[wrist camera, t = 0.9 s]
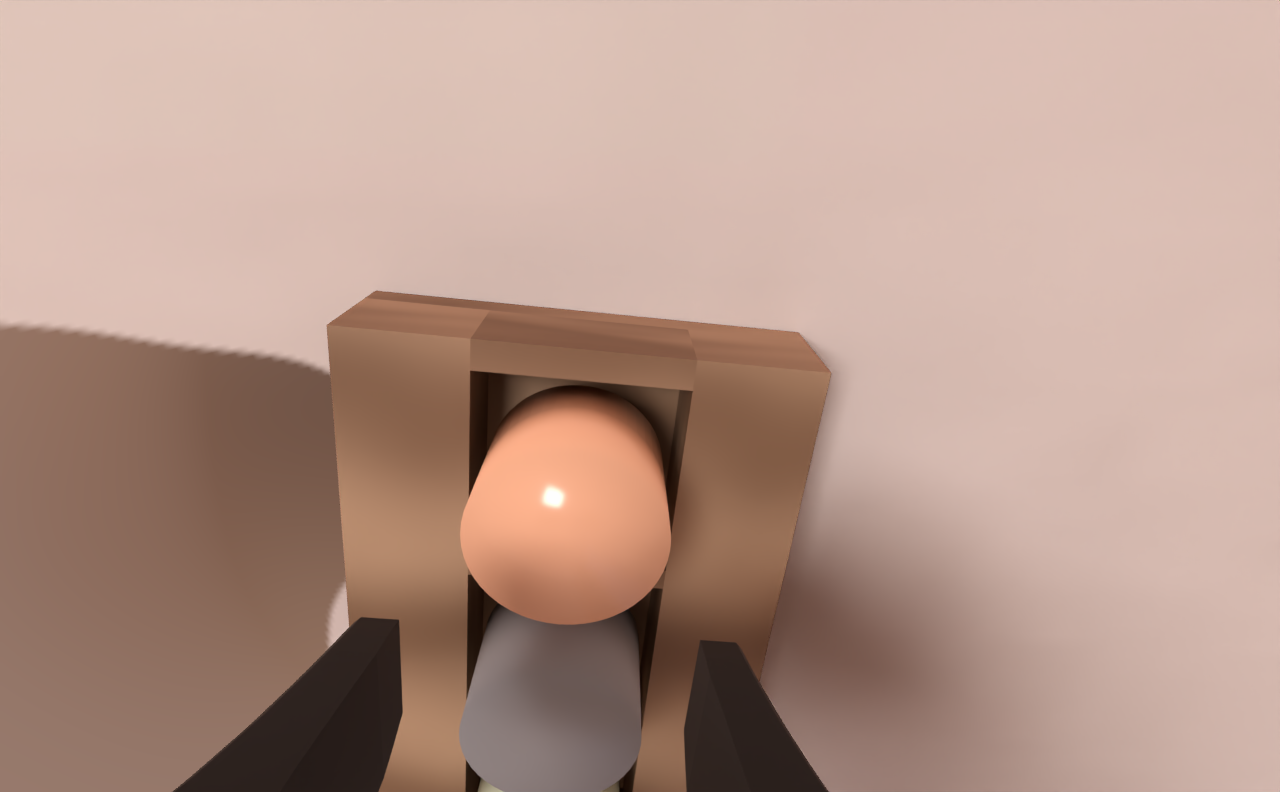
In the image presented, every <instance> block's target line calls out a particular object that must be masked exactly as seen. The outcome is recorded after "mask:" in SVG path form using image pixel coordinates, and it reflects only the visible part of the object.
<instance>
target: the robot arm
mask: <svg viewBox="0 0 1280 792" xmlns="http://www.w3.org/2000/svg"><path fill="white" fill-rule="evenodd" d="M402 714H403V705H402V679H401V653H400V627H399V620H398V619H383V618H368V617H361V618H359V619H358V620H357V621H355V622H354V623H353V624H352V625H351V626H350V627H349V628H348V629H347V630H346V631H345V632H344V633H343V634H342V635H341V636H340V637H339V638H338V639H337V641H336V642H335V643H334V644H333V645H332V646H331V647H330V648H329V649H328V650H327V651H326V652H325V653H324V654H323V655H322V656H321V657H320V658H319V659H318V660H317V661H316V662H315V663H314V664H313V665H312V666H311V667H310V668H309V669H308V670H307V671H306V672H305V673H304V674H303V675H302V676H301V677H300V678H299V679H298V680H297V681H296V682H295V683H294V684H293V685H292V686H291V687H290V688H289V689H287V691H285V692H284V693H283V694H282V695H281V696H280V697H279V698H278V699H277V700H276V701H275V702H274V703H273V704H272V705H271V706H270V707H269V708H267V709H266V710H265V711H264V712H263V713H262V714H261V715H260V716H259V717H258V718H257V719H256V720H255V721H254V722H253V723H252V724H251V725H249V726H248V727H247V728H246V729H245V730H244V731H243V732H242V733H240V734H239V735H238V736H237V737H236V738H235V739H234V740H232V741H231V742H230V743H229V744H228V745H227V746H226V747H224V748H223V749H222V750H221V751H220V752H219V753H218V754H217V755H215V756H214V757H213V758H212V759H211V760H210V761H208V762H207V763H206V764H205V765H204V766H203V767H202V768H200V769H199V770H198V771H197V772H196V773H195V774H193V775H192V776H191V777H190V778H189V779H187V780H186V781H185V782H184V783H183V784H181V785H180V786H179V787H178V788H177V789H175V790H174V791H173V792H379V789H380V787H381V784H382V781H383V779H384V776H385V773H386V769H387V766H388V763H389V759H390V756H391V753H392V749H393V746H394V742H395V739H396V735H397V732H398V728H399V724H400V721H401V717H402ZM684 748H685V771H686V790H687V792H828V790H827V789H826V787H825V786H824V785H823V783H822V782H821V780H820V779H819V777H818V776H817V774H816V773H815V771H814V770H813V768H812V767H811V765H810V764H809V762H808V761H807V759H806V758H805V756H804V755H803V753H802V752H801V750H800V748H799V747H798V745H797V744H796V742H795V741H794V739H793V738H792V736H791V734H790V733H789V731H788V730H787V728H786V727H785V725H784V723H783V722H782V720H781V718H780V717H779V715H778V713H777V712H776V710H775V708H774V707H773V705H772V703H771V702H770V700H769V698H768V696H767V695H766V693H765V691H764V689H763V688H762V686H761V684H760V682H759V681H758V679H757V677H756V675H755V673H754V672H753V670H752V668H751V666H750V664H749V662H748V660H747V659H746V657H745V655H744V653H743V651H742V649H741V648H740V646H739V645H738V644H737V643H736V642H722V641H707V640H700V643H699V649H698V654H697V660H696V665H695V671H694V676H693V682H692V687H691V692H690V698H689V703H688V709H687V714H686V720H685V725H684Z"/></svg>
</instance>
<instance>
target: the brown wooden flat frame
mask: <svg viewBox="0 0 1280 792" xmlns="http://www.w3.org/2000/svg"><path fill="white" fill-rule="evenodd" d="M327 336H328V349H329V362H330V376H331V389H332V401H333V416H334V428H335V442H336V456H337V469H338V481H339V494H340V509H341V522H342V536H343V549H344V562H345V576H346V589H347V602H348V615H349V627H350V626H351V625H352V624H353V623H354V622H355V621H357V620H358V619H359V618H361V617H368V618H383V619H398V620H399V627H400V653H401V679H402V705H403V714H402V717H401V721H400V724H399V728H398V732H397V735H396V739H395V742H394V746H393V749H392V753H391V756H390V759H389V763H388V766H387V769H386V773H385V776H384V779H383V781H382V784H381V787H380V789H379V792H478V788H479V784H480V779H481V777H480V776H479V775H478V774H477V773H476V772H475V771H474V770H473V769H472V768H471V767H470V765H469V763H468V762H467V760H466V759H465V757H464V755H463V752H462V749H461V746H460V741H459V728H460V723H461V719H462V715H463V712H464V708H465V704H466V700H467V697H468V693H469V689H470V685H471V682H472V678H473V674H474V671H475V667H476V663H477V659H478V656H479V652H480V648H481V644H482V641H483V637H484V633H485V630H486V626H487V622H488V619H489V617H490V615H491V612H492V611H493V609H494V608H495V606H496V605H497V604H498V602H497V601H495V600H494V599H493V598H491V597H490V596H489V595H488V594H487V593H486V592H485V591H484V590H483V589H482V588H481V587H480V585H479V584H478V583H477V581H476V580H475V579H474V577H473V576H472V574H471V572H470V570H469V569H468V567H467V564H466V562H465V559H464V557H463V552H462V548H461V540H460V528H461V520H462V516H463V512H464V509H465V507H466V504H467V502H468V499H469V497H470V494H471V492H472V489H473V487H474V484H475V482H476V479H477V477H478V474H479V472H480V469H481V467H482V464H483V462H484V460H485V457H486V455H487V452H488V450H489V447H490V445H491V442H492V440H493V437H494V435H495V433H496V430H497V428H498V426H499V425H500V423H501V421H502V420H503V418H504V417H505V416H506V415H507V414H508V412H509V411H510V410H511V409H512V408H514V407H515V406H516V405H517V404H518V403H520V402H521V401H522V400H524V399H525V398H527V397H529V396H531V395H533V394H535V393H537V392H539V391H542V390H545V389H548V388H553V387H557V386H565V385H584V386H591V387H596V388H600V389H603V390H607V391H609V392H611V393H614V394H616V395H618V396H620V397H622V398H623V399H625V400H627V401H628V402H629V403H631V404H632V405H633V406H635V407H636V408H637V409H638V410H639V411H640V412H641V413H642V414H643V415H644V416H645V417H646V419H647V420H648V421H649V423H650V424H651V426H652V428H653V429H654V431H655V433H656V435H657V438H658V440H659V443H660V448H661V452H662V460H663V469H664V478H665V486H666V495H667V503H668V512H669V521H670V530H671V547H670V553H669V558H668V562H667V564H666V567H665V569H664V572H663V573H662V575H661V577H660V578H659V580H658V582H657V583H656V584H655V586H654V587H653V588H652V589H651V591H650V592H649V593H648V594H647V595H646V596H645V597H644V598H643V599H641V600H640V601H639V602H637V603H636V604H635V605H633V606H632V607H630V608H629V610H630V612H631V613H632V615H633V617H634V619H635V622H636V625H637V629H638V638H639V671H640V705H641V746H640V750H639V754H638V756H637V758H636V761H635V762H634V764H633V765H632V767H631V768H630V770H629V771H628V772H627V773H626V774H625V775H624V776H623V777H622V778H621V779H620V780H619V792H687V790H686V771H685V748H684V725H685V720H686V714H687V709H688V703H689V698H690V692H691V687H692V682H693V676H694V671H695V665H696V660H697V654H698V649H699V643H700V640H707V641H722V642H736V643H737V644H738V645H739V646H740V648H741V649H742V651H743V653H744V655H745V657H746V659H747V660H748V662H749V664H750V666H751V668H752V670H753V672H754V673H755V675H756V677H757V679H758V681H760V676H761V672H762V668H763V663H764V659H765V655H766V651H767V646H768V642H769V638H770V634H771V629H772V625H773V621H774V616H775V612H776V608H777V604H778V599H779V595H780V591H781V586H782V582H783V578H784V574H785V569H786V565H787V561H788V557H789V552H790V548H791V544H792V539H793V535H794V531H795V527H796V522H797V518H798V514H799V509H800V505H801V501H802V497H803V492H804V488H805V484H806V480H807V475H808V471H809V467H810V462H811V458H812V454H813V450H814V445H815V441H816V437H817V433H818V428H819V424H820V420H821V415H822V411H823V407H824V403H825V398H826V394H827V390H828V385H829V381H830V377H831V372H830V371H829V369H828V368H827V367H826V366H825V365H824V363H823V362H822V361H821V360H820V358H819V357H818V356H817V355H816V353H815V352H814V351H813V350H812V349H811V347H810V346H809V345H808V344H807V342H806V341H805V340H804V339H803V338H802V336H801V335H800V334H799V333H798V332H788V331H778V330H767V329H757V328H747V327H737V326H727V325H717V324H707V323H696V322H686V321H676V320H666V319H656V318H646V317H635V316H625V315H615V314H605V313H595V312H585V311H575V310H564V309H554V308H544V307H534V306H524V305H514V304H504V303H493V302H483V301H473V300H463V299H453V298H443V297H432V296H422V295H412V294H402V293H392V292H382V291H375V292H373V293H372V294H370V295H369V296H367V297H366V298H365V299H363V300H362V301H360V302H359V303H357V304H356V305H355V306H353V307H352V308H350V309H349V310H348V311H346V312H345V313H343V314H342V315H340V316H339V317H338V318H336V319H335V320H333V321H332V322H330V323H329V324H328V325H327Z"/></svg>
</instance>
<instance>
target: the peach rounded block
mask: <svg viewBox="0 0 1280 792" xmlns="http://www.w3.org/2000/svg"><path fill="white" fill-rule="evenodd" d="M460 540H461V548H462V552H463V557H464V559H465V562H466V564H467V567H468V569H469V570H470V572H471V574H472V576H473V577H474V579H475V580H476V581H477V583H478V584H479V585H480V587H481V588H482V589H483V590H484V591H485V592H486V593H487V594H488V595H489V596H490V597H491V598H493V599H494V600H495V601H497V602H498V603H499V604H501V605H502V606H504V607H506V608H507V609H509V610H510V611H513V612H515V613H517V614H519V615H521V616H524V617H527V618H530V619H533V620H536V621H541V622H545V623H552V624H563V625H575V624H586V623H591V622H596V621H600V620H603V619H607V618H610V617H612V616H615V615H617V614H619V613H622V612H623V611H625V610H627V609H629V608H630V607H632V606H633V605H635V604H636V603H637V602H639V601H640V600H641V599H643V598H644V597H645V596H646V595H647V594H648V593H649V592H650V591H651V589H652V588H653V587H654V586H655V584H656V583H657V582H658V580H659V578H660V577H661V575H662V573H663V572H664V569H665V567H666V564H667V562H668V558H669V553H670V547H671V530H670V521H669V512H668V503H667V495H666V486H665V478H664V469H663V460H662V452H661V448H660V443H659V440H658V438H657V435H656V433H655V431H654V429H653V428H652V426H651V424H650V423H649V421H648V420H647V419H646V417H645V416H644V415H643V414H642V413H641V412H640V411H639V410H638V409H637V408H636V407H635V406H633V405H632V404H631V403H629V402H628V401H627V400H625V399H623V398H622V397H620V396H618V395H616V394H614V393H611V392H609V391H607V390H603V389H600V388H596V387H591V386H584V385H565V386H557V387H553V388H548V389H545V390H542V391H539V392H537V393H535V394H533V395H531V396H529V397H527V398H525V399H524V400H522V401H521V402H520V403H518V404H517V405H516V406H515V407H514V408H512V409H511V410H510V411H509V412H508V414H507V415H506V416H505V417H504V418H503V420H502V421H501V423H500V425H499V426H498V428H497V430H496V433H495V435H494V437H493V440H492V442H491V445H490V447H489V450H488V452H487V455H486V457H485V460H484V462H483V464H482V467H481V469H480V472H479V474H478V477H477V479H476V482H475V484H474V487H473V489H472V492H471V494H470V497H469V499H468V502H467V504H466V507H465V509H464V512H463V516H462V520H461V528H460Z"/></svg>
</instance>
